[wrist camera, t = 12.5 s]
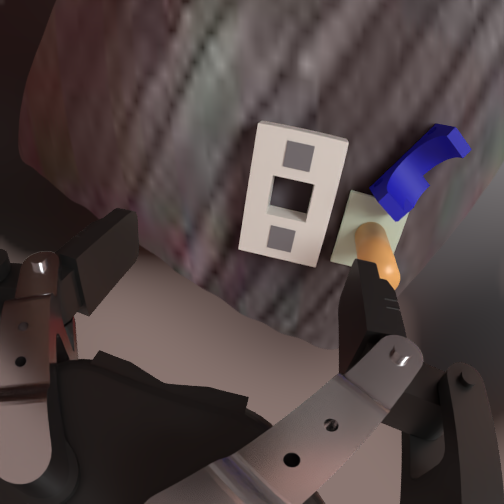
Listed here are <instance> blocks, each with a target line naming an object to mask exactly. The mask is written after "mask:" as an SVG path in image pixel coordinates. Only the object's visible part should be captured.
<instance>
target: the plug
mask: <svg viewBox="0 0 504 504" xmlns="http://www.w3.org/2000/svg"><path fill="white" fill-rule="evenodd" d="M355 245H356V252H357V259H361V260H365V261H369V262H374V263H376V264H377V268H378V272H379V276H380V278H381V279H385V280H387V281H388V282H389V283H390V285H391V286H392V287H393V288H394V290H395V289H396V288H397V286H398V284H399V282H400V273H399V270H398V267H397V264H396V261H395V258H394V255H393V252H392V249H391V246H390V243H389V240H388V237H387V235H386V232H385V229H384V228H383V227H382V226H381V225H380V224H378V223H376V222H367V223H364V224H362V225H361V226H359V227H358V229H357V230H356V232H355Z"/></svg>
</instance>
